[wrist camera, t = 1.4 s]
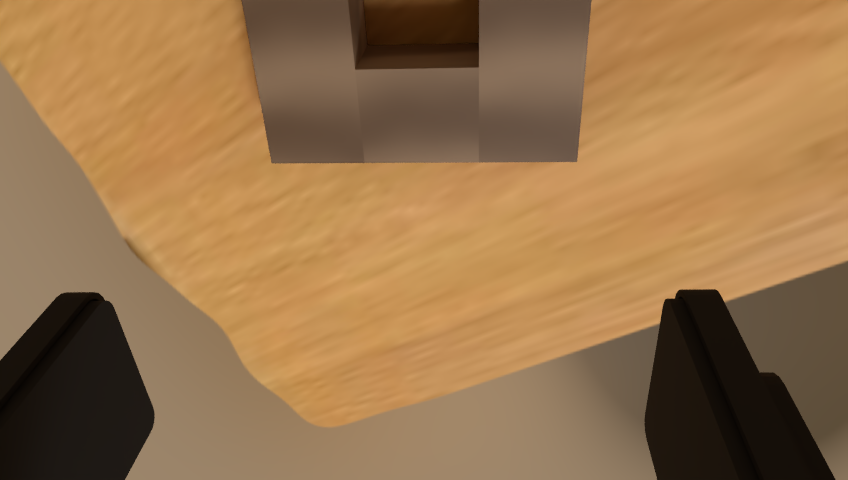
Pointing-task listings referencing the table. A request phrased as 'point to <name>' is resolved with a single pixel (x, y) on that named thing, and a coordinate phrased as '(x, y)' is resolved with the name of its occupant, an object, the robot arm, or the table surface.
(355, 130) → the bore block
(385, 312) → the table surface
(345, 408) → the table surface
